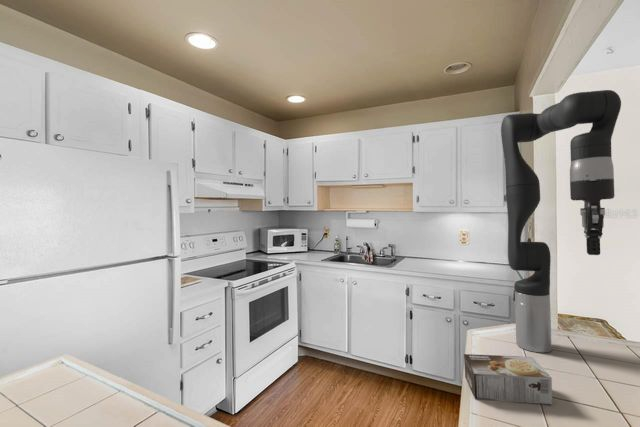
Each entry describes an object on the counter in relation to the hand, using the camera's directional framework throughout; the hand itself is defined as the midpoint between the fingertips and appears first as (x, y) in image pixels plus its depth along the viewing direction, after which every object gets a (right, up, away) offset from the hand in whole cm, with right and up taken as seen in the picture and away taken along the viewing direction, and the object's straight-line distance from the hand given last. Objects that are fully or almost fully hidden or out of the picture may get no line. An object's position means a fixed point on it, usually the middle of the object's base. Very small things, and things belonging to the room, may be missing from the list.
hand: (593, 254), depth 70 cm
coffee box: (-10, -30, +2) cm, 31 cm away
